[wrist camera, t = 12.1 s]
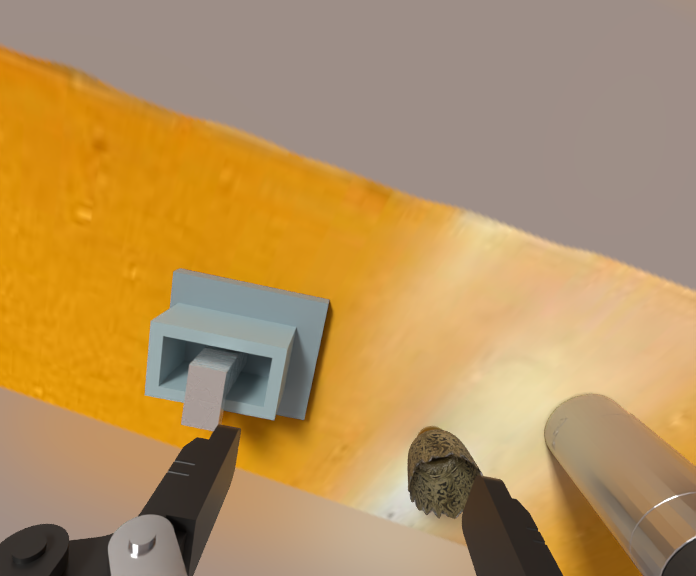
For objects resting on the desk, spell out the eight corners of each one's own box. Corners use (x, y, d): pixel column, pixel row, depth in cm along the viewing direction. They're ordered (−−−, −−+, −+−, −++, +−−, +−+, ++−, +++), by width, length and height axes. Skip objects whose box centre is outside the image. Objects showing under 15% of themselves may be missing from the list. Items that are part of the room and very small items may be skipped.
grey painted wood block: (251, 336, 40) (226, 372, 32) (242, 386, 42) (216, 431, 34) (221, 329, 40) (189, 364, 32) (213, 380, 41) (181, 424, 34)
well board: (329, 299, 40) (324, 322, 34) (305, 412, 44) (297, 453, 37) (180, 268, 40) (144, 285, 33) (168, 385, 43) (134, 422, 37)
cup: (431, 474, 46) (447, 532, 38) (386, 439, 45) (393, 492, 37) (475, 433, 44) (501, 485, 37) (429, 397, 43) (446, 443, 36)
